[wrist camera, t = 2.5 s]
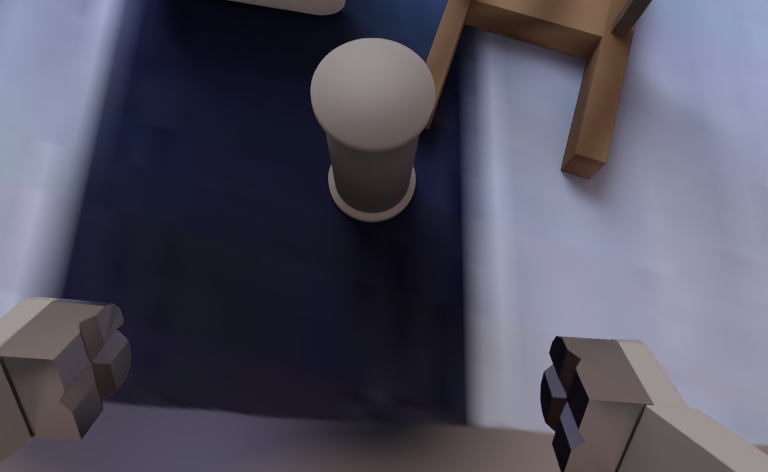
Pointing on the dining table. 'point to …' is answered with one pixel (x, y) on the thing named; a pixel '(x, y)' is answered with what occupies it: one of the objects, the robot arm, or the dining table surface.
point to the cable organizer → (301, 5)
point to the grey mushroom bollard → (372, 123)
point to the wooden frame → (564, 34)
